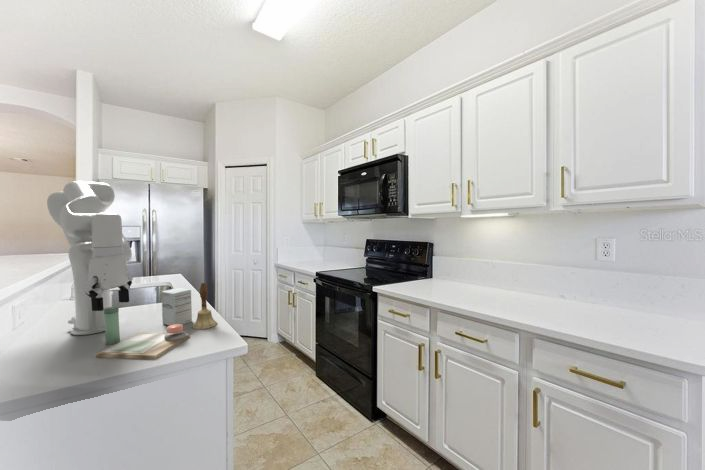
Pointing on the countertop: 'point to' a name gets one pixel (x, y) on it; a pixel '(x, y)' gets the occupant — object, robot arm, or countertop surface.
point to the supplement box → (176, 306)
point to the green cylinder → (111, 325)
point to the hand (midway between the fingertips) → (111, 306)
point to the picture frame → (144, 345)
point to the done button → (174, 328)
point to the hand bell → (204, 312)
